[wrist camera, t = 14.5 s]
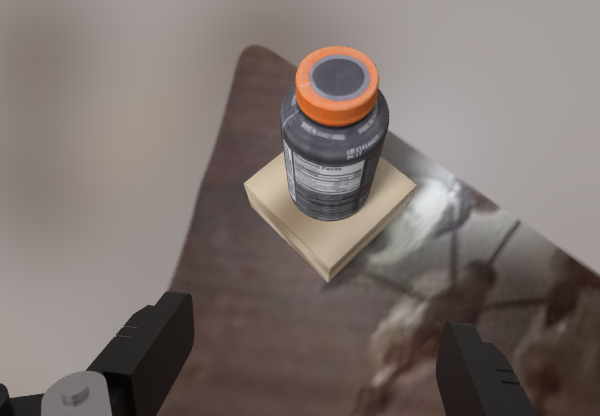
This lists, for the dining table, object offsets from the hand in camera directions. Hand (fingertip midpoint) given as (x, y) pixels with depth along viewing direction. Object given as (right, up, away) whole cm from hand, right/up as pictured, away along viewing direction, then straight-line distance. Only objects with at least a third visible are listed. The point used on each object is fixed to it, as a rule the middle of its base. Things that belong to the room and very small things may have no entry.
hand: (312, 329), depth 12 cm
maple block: (+2, +4, +20) cm, 20 cm away
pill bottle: (+2, +5, +16) cm, 17 cm away
